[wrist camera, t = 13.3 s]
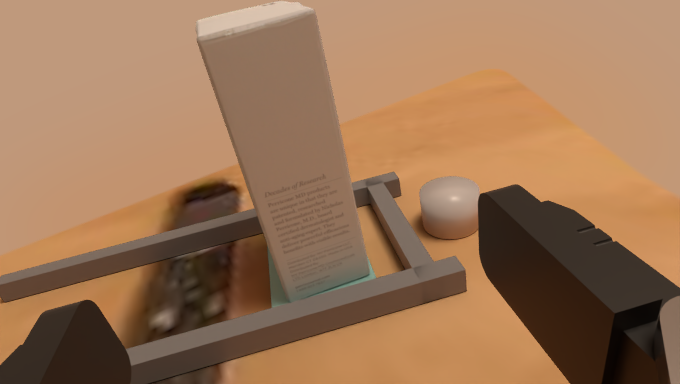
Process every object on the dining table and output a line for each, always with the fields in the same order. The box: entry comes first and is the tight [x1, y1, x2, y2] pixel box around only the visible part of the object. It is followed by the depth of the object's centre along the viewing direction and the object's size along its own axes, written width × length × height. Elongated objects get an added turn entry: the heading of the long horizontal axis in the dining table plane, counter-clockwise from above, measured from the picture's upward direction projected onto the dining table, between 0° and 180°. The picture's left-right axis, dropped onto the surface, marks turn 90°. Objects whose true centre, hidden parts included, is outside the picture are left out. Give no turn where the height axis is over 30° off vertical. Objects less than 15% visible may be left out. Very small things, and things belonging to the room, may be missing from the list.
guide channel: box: [0, 172, 479, 384], centre depth 22 cm, size 27×10×2 cm, turn 101°
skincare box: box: [196, 1, 370, 302], centre depth 19 cm, size 6×4×12 cm
